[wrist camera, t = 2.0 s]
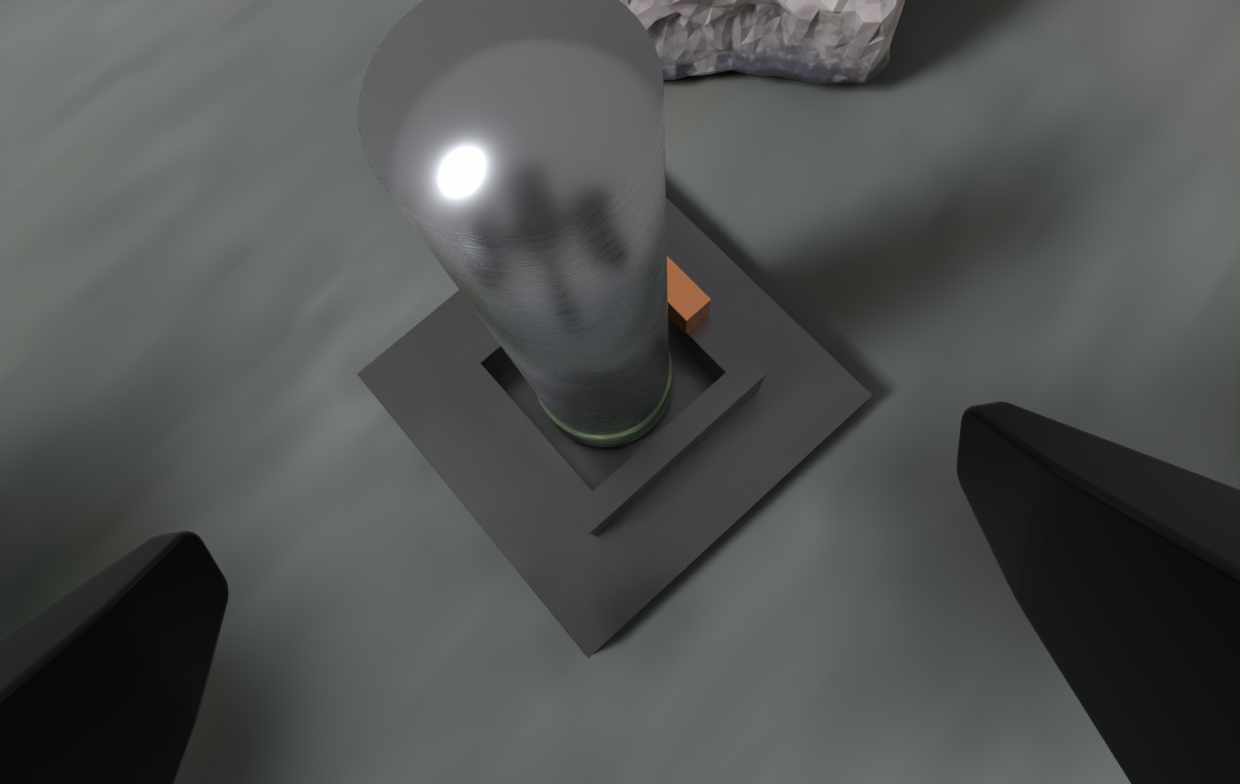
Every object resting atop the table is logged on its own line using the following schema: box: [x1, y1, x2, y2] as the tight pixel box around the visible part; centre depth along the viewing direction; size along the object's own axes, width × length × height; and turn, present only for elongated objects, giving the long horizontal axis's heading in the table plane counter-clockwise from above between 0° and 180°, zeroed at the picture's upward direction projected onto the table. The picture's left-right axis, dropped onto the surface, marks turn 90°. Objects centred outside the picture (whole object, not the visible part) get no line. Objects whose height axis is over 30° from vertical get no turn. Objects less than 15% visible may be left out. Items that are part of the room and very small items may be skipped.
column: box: [358, 0, 672, 447], centre depth 14 cm, size 4×4×12 cm
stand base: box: [358, 198, 872, 658], centre depth 19 cm, size 10×10×3 cm
